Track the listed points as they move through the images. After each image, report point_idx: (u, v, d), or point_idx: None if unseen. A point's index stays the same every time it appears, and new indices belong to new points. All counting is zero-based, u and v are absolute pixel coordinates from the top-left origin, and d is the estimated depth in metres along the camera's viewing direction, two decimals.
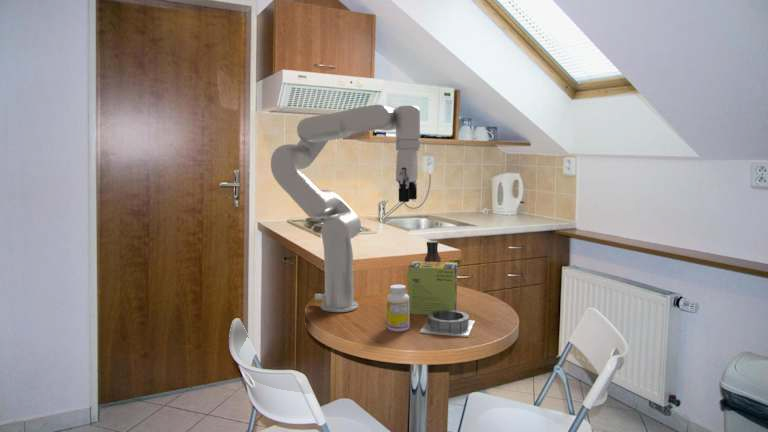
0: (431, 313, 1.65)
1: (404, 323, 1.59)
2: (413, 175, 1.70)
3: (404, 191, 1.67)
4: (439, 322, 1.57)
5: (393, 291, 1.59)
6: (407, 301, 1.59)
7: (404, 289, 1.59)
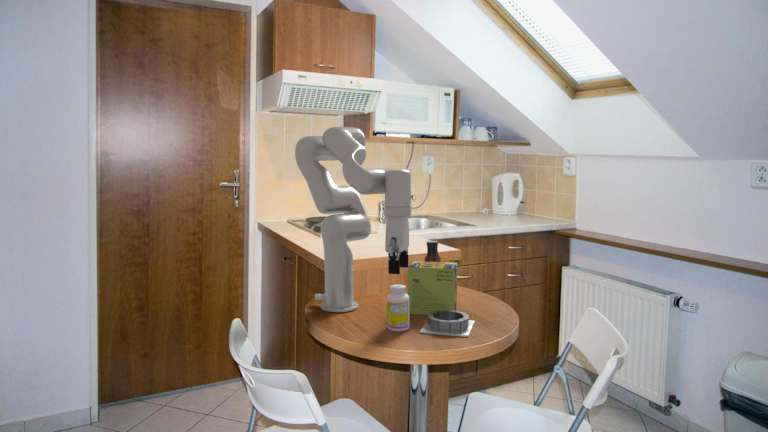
0: (431, 313, 1.65)
1: (404, 323, 1.59)
2: (404, 244, 1.57)
3: (394, 263, 1.54)
4: (439, 322, 1.57)
5: (393, 291, 1.59)
6: (407, 301, 1.59)
7: (404, 289, 1.59)
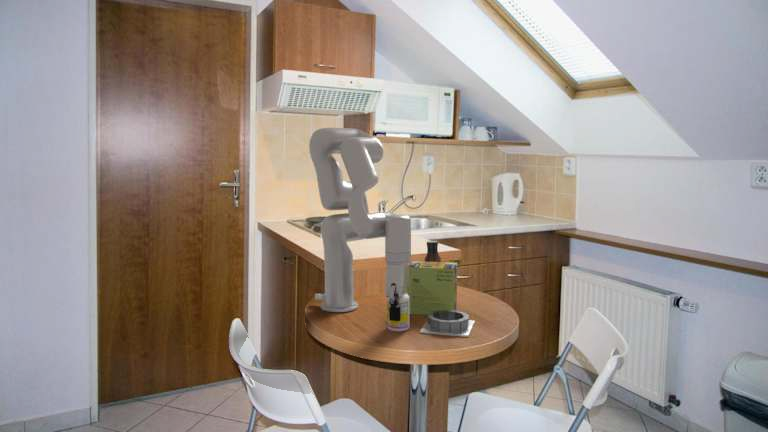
0: (431, 313, 1.65)
1: (404, 323, 1.59)
2: (404, 289, 1.58)
3: (395, 310, 1.57)
4: (439, 322, 1.57)
5: None
6: (407, 301, 1.59)
7: None
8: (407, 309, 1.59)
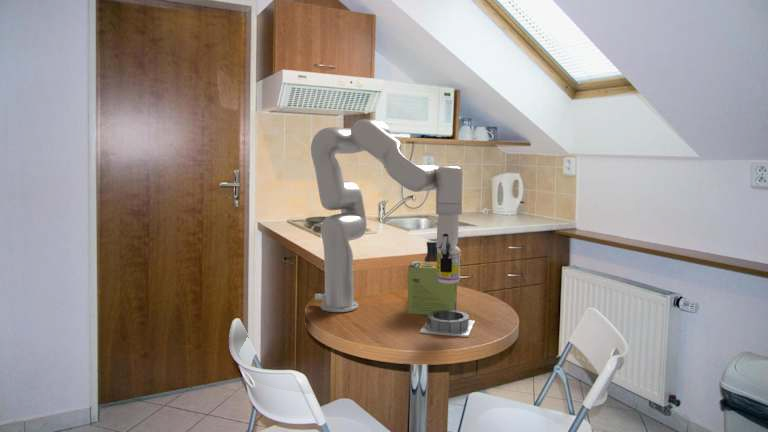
0: (431, 313, 1.65)
1: (455, 275, 1.58)
2: (455, 241, 1.57)
3: (447, 261, 1.56)
4: (439, 322, 1.57)
5: None
6: (458, 253, 1.58)
7: None
8: (458, 261, 1.58)
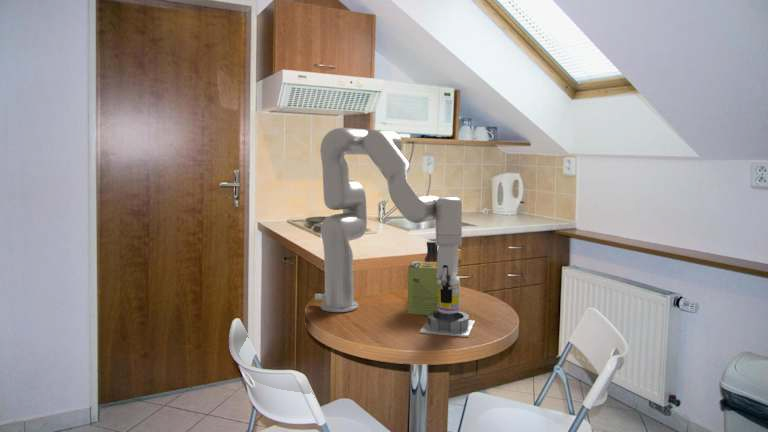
0: (431, 313, 1.65)
1: (455, 305, 1.59)
2: (455, 272, 1.58)
3: (447, 292, 1.57)
4: (439, 322, 1.57)
5: None
6: (458, 283, 1.59)
7: None
8: (458, 291, 1.59)
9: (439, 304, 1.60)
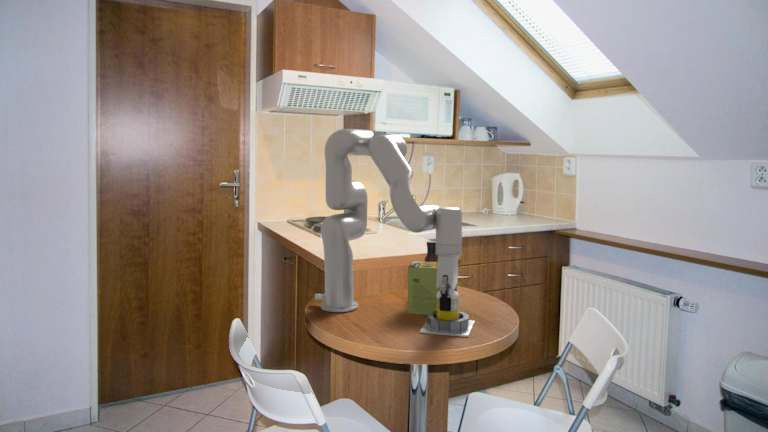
0: (431, 313, 1.65)
1: None
2: (455, 281, 1.59)
3: (446, 300, 1.56)
4: (439, 322, 1.57)
5: None
6: (457, 298, 1.60)
7: None
8: (457, 306, 1.60)
9: (438, 318, 1.61)
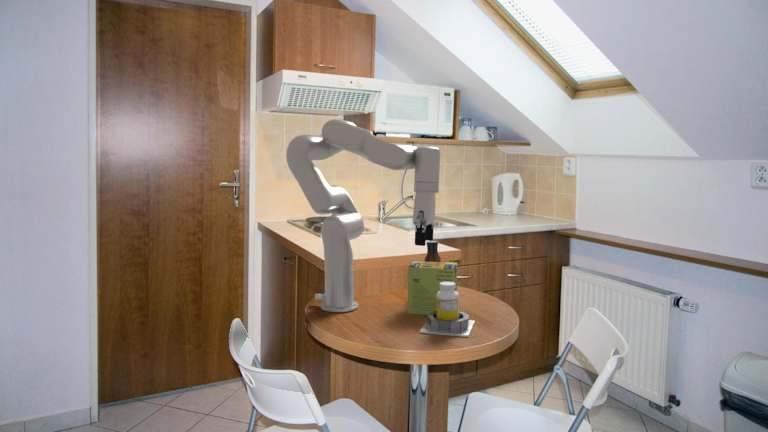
0: (431, 313, 1.65)
1: None
2: (430, 218, 1.65)
3: (421, 235, 1.63)
4: (439, 322, 1.57)
5: (443, 288, 1.59)
6: (457, 298, 1.60)
7: (454, 286, 1.60)
8: (457, 306, 1.60)
9: None
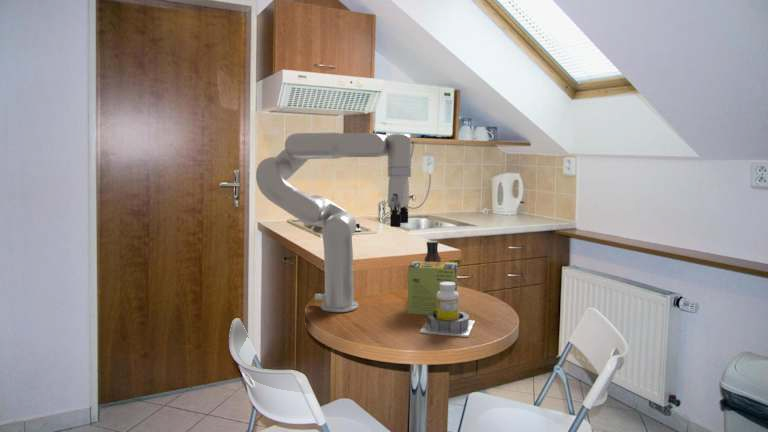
0: (431, 313, 1.65)
1: None
2: (404, 201, 1.76)
3: (395, 217, 1.73)
4: (439, 322, 1.57)
5: (443, 288, 1.59)
6: (457, 298, 1.60)
7: (454, 286, 1.60)
8: (457, 306, 1.60)
9: None
